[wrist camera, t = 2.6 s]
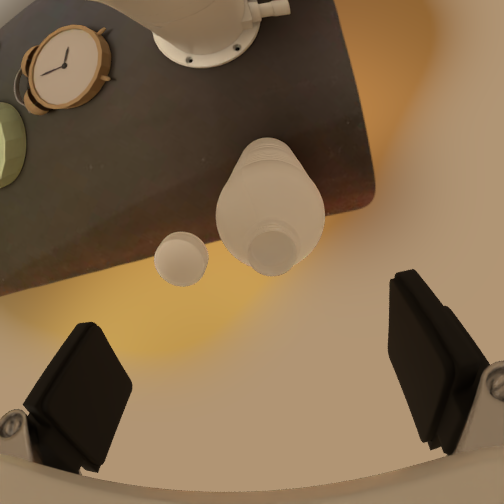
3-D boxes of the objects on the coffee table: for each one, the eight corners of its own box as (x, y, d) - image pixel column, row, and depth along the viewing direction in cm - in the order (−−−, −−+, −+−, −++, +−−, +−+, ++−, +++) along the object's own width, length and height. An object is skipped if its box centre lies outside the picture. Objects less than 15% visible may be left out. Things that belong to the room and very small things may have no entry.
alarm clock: (109, 93, 31) (8, 129, 29) (119, 96, 35) (26, 126, 34) (101, 11, 26) (2, 53, 25) (112, 21, 31) (19, 57, 29)
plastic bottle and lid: (292, 134, 35) (343, 176, 12) (297, 188, 38) (344, 309, 15) (217, 142, 36) (138, 199, 13) (225, 195, 39) (170, 322, 16)
